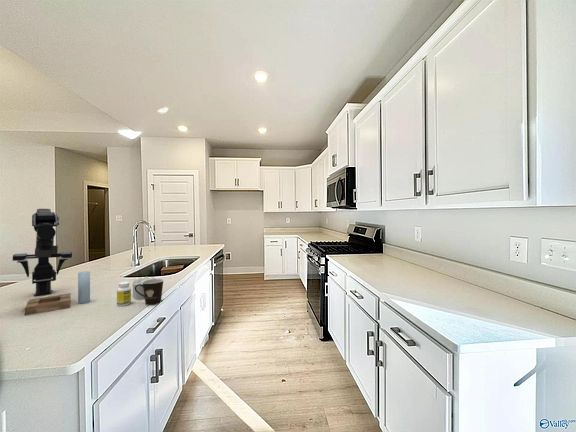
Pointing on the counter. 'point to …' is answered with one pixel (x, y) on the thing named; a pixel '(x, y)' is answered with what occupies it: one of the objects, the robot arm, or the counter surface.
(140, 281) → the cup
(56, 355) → the counter surface
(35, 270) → the robot arm
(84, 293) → the peg
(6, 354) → the counter surface
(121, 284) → the supplement bottle
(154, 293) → the coffee mug
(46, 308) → the holder
